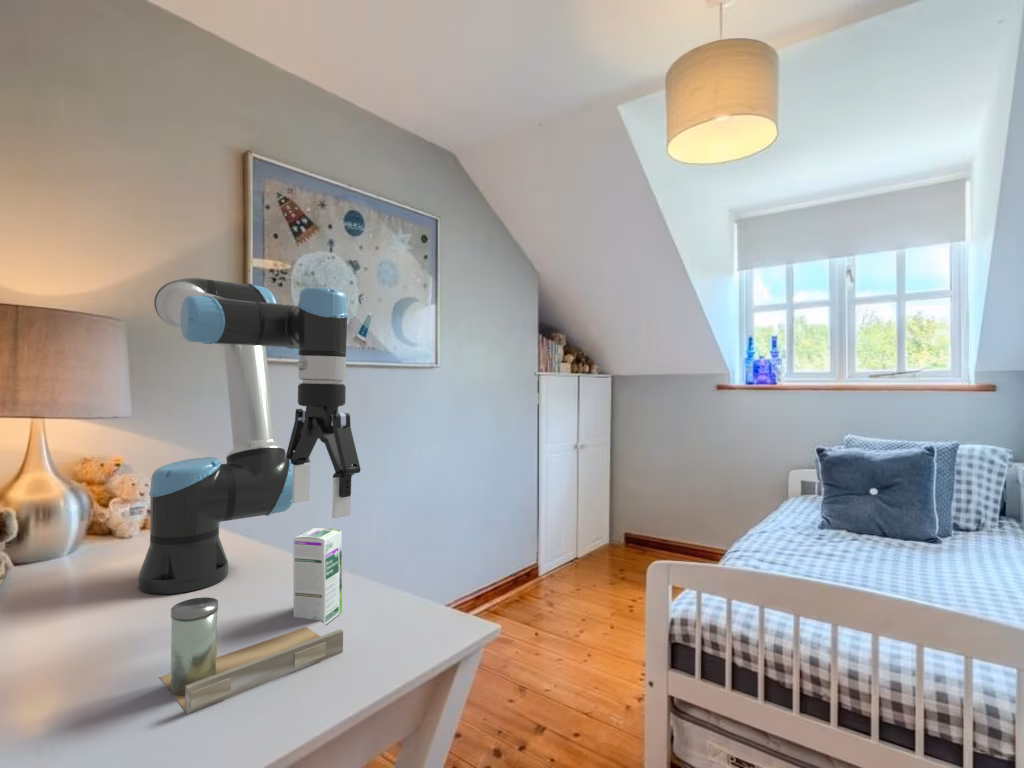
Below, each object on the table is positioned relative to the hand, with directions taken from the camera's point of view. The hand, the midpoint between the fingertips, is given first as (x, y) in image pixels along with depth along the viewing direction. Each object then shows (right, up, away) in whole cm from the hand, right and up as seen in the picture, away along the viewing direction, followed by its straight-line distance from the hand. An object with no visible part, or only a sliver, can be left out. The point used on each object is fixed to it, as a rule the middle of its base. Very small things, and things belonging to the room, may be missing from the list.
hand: (320, 508), depth 91 cm
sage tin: (-8, -17, -22) cm, 29 cm away
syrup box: (-1, -19, 0) cm, 19 cm away
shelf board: (-3, -19, -16) cm, 25 cm away
